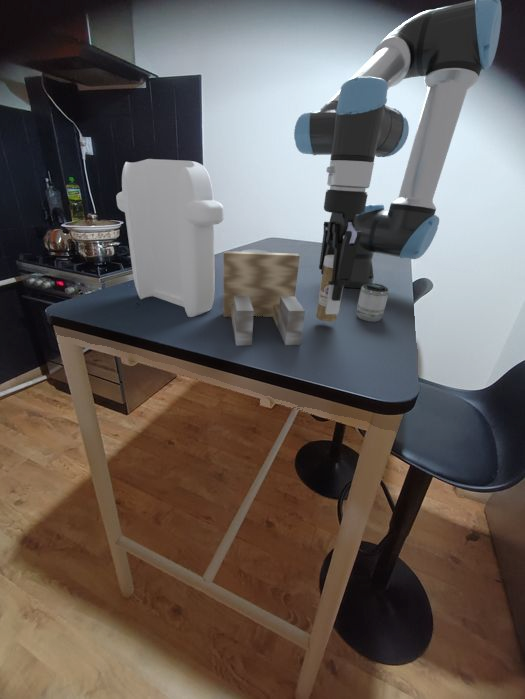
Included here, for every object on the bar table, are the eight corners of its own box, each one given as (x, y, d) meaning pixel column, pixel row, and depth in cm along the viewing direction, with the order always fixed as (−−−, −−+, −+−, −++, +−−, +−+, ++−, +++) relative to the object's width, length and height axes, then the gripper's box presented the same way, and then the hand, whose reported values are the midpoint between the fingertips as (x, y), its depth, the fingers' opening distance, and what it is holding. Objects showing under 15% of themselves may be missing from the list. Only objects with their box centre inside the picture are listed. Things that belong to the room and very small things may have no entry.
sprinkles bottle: (316, 321, 68) (325, 258, 62) (315, 313, 72) (323, 253, 66) (337, 323, 68) (349, 260, 61) (335, 315, 72) (346, 254, 65)
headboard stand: (290, 313, 76) (297, 253, 69) (309, 344, 62) (319, 273, 55) (223, 313, 73) (223, 251, 66) (226, 345, 59) (227, 271, 52)
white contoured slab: (236, 310, 75) (240, 164, 61) (203, 324, 67) (199, 159, 53) (159, 285, 88) (148, 160, 74) (124, 294, 80) (103, 155, 66)
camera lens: (360, 310, 81) (367, 280, 77) (385, 316, 78) (393, 285, 74) (351, 317, 76) (358, 285, 72) (377, 324, 73) (385, 291, 69)
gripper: (313, 186, 65) (300, 295, 76) (345, 190, 50) (323, 326, 61) (348, 188, 66) (330, 295, 77) (389, 193, 51) (360, 325, 62)
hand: (327, 308), depth 69 cm, fingers closed on sprinkles bottle, 4 cm apart
